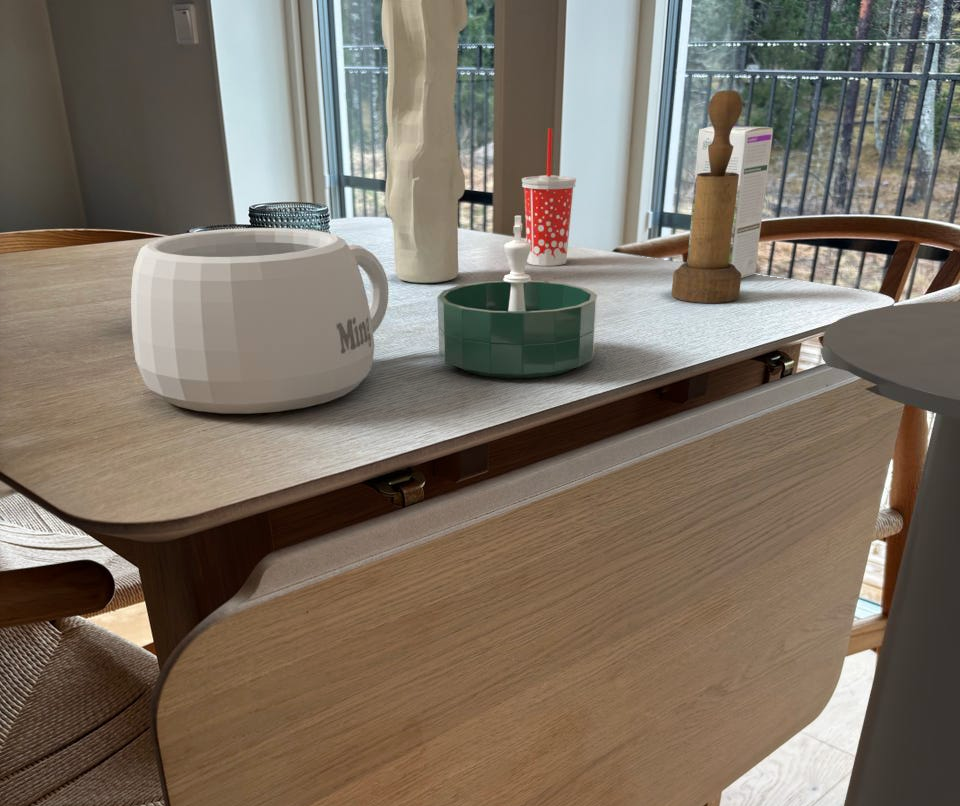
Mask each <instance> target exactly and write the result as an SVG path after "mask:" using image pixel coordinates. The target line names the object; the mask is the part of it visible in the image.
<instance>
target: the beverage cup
mask: <svg viewBox="0 0 960 806" xmlns="http://www.w3.org/2000/svg"><path fill="white" fill-rule="evenodd" d="M546 153H547V154H546V155H547V156H546V157H547V158H546V160H547V161H546V174H545V175H537V176H536V175H534V176H527V177H522V178H521V183H522V184H521V187H522V188H523V189H524V191H523V194H524V215H525V242H528V243H530V244H531V250H530V253H529V256H528V259H527V264H529V265H532V266H540V267H541V266H543V267H544V266H545V267H549V266H561V265H565V264H567V257H568V247H569V236H570V226H571V215H572V205H573V195H574V188H575V187H576V182H577V178H576V177H573V176H562V175H555V174H554V175H553V174H552V156H553V154H552V153H553V128H547V152H546Z"/></svg>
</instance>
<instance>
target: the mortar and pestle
mask: <svg viewBox="0 0 960 806" xmlns="http://www.w3.org/2000/svg"><path fill="white" fill-rule="evenodd" d="M742 111H743V101H742V97H741V95H740V94H739V93H738V92H737V91H736V90H735V89H734V90H730V89H728V90H727V89H726V90H719V91H717V92H716V93H714V94H713V95H712V97H711V99H710V100H709V103H708V108H707V112H708V117H709V120H710V122H711V126H713V128H714V139H713V142H712V144H711V145H709V146H708V155H709V163H710V171H711V172H707V173H700V174H697V181H696V193H695V204H694V214H693V224H692V233H691V242H690V251H689V260H688V259H687V260H688V263H687V262H685V263H682V264H681V265H680V266H679V267H677V269H675V270H674V271H673V276H672V285H671V292H670V293H671V296H672V297H673V298H674V299H676V300H679V301H682V302H683V301H684V302H690V303H700V304H701V303H702V304H718V303H719V304H720V303H729V302H734V301H736V300H738V299H739V297H740V293H741V292H740V291H741V282H742V278H741V273H740V272H739V271H738V270H737V269H736V267H735V266H734V265H733V264H730V263H729V256H730V247H731V238H732V229H733V221H734V212H735V204H736V196H737V187H738V179H739V174H737V173H732V172H731V173H728V172H726V169H727V166H728V164H729V161H730V158H731V155H732V151H733V145H731V144H730V133H731V130H732V128H733V127H734V126H736V123H737V122H738V120H739V118H740V116H741V114H742Z"/></svg>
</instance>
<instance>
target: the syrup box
mask: <svg viewBox="0 0 960 806" xmlns="http://www.w3.org/2000/svg"><path fill="white" fill-rule="evenodd" d="M698 130H699V131H698V136H697V147H696V148H697V149H696V160H695V170H694V171H695V172H694V173H695V174H694V182H693V192H692V193H693V194H692V202H691V203H692V205H691V216H690V228H689V237H688V238H689V239H688V241H689V242H688V251H687V261H686V263H688V260H689V251H690V242H691V233H692V224H693V214H694V204H695V193H696V181H697V174H700V173H707V172H711V171H710V163H709V155H708V146H709V145H711V144H712V142H713V139H714V128H713V125H711V126H707V127H704V128H699V129H698ZM773 134H774V129H773V127H769V126H752V125H751V126H747V125H746V126H744V125H743V126H742V125H734V127H733V128H732V130H731V133H730V144H731V145H733V151H732V155H731V158H730V161H729V164H728V166H727V169H726V172H728V173H731V172H732V173H737V174H739V179H738V187H737V196H736V204H735V212H734V221H733V229H732V238H731V247H730V256H729V263H730V264H733V265H734V266H735V267H736V269H737V270H738V271H739V272H740V273H741V279H742V278H746V277H749V276H753V275H756V272H757V265H758V255H759V243H760V235H761V228H762V220H763V213H764V205H765V204H764V203H765V196H766V189H767V181H768V175H769V174H768V173H769V169H770V168H769V166H770V159H771V152H772V143H773Z"/></svg>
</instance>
